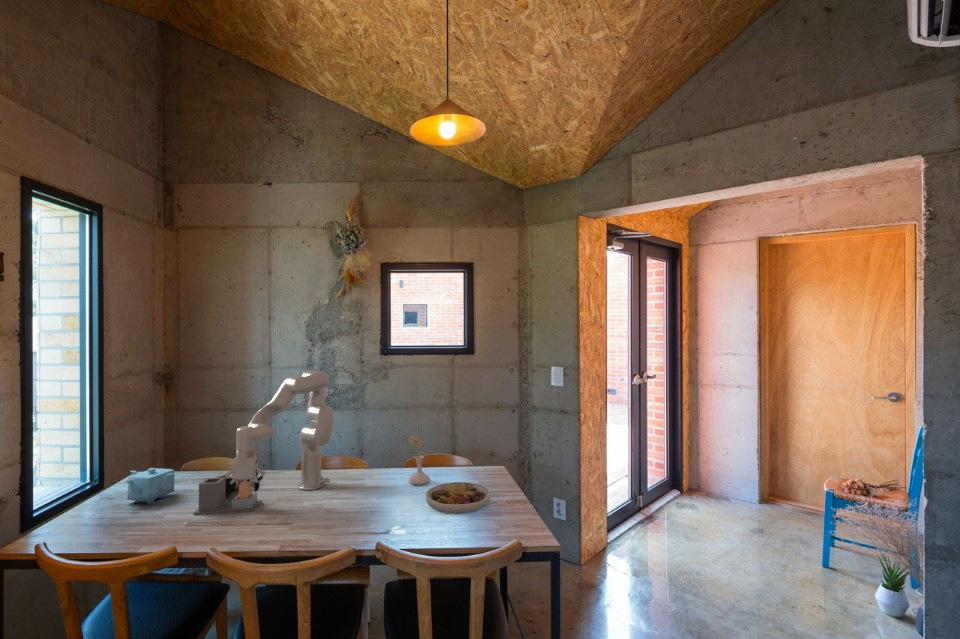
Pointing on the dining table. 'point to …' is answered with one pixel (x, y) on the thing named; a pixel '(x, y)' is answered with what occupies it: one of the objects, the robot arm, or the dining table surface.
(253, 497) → the socket stand
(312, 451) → the robot arm
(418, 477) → the flower in vase
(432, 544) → the dining table surface
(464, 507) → the bowl
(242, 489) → the peg
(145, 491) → the teakettle
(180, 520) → the dining table surface
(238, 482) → the cable
